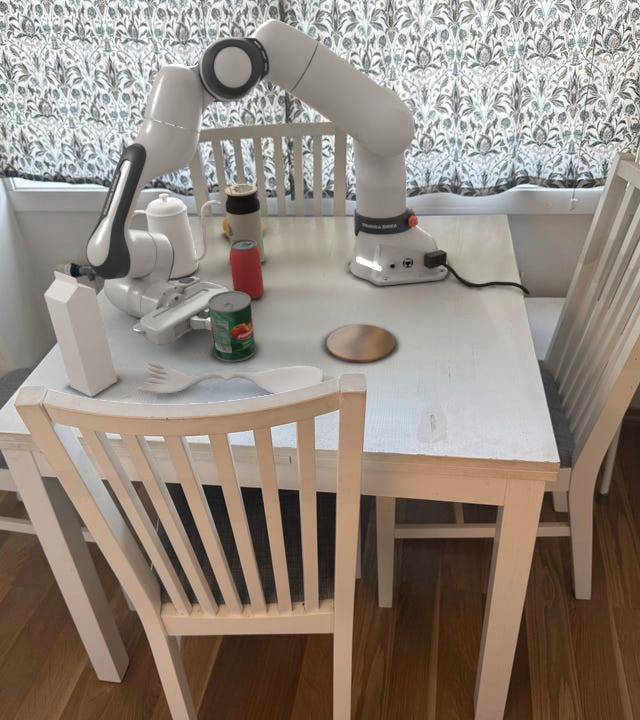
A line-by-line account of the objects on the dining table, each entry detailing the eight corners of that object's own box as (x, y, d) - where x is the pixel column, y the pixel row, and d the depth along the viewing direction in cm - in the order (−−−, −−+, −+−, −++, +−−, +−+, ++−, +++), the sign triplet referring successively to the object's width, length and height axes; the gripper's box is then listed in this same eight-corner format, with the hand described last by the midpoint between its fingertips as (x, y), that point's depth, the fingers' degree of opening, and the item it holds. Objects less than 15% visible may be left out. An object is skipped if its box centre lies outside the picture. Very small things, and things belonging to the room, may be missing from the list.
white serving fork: (152, 374, 125) (148, 359, 123) (325, 373, 122) (324, 357, 120) (138, 404, 117) (135, 387, 115) (323, 402, 115) (322, 386, 113)
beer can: (270, 293, 150) (265, 242, 144) (248, 304, 146) (242, 252, 140) (249, 285, 154) (244, 235, 147) (228, 295, 150) (221, 245, 144)
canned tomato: (217, 340, 134) (211, 290, 128) (257, 340, 133) (252, 290, 127) (211, 362, 127) (204, 311, 121) (253, 362, 127) (248, 310, 121)
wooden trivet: (393, 327, 135) (393, 324, 134) (395, 362, 124) (395, 360, 124) (328, 327, 136) (328, 324, 136) (324, 362, 125) (324, 359, 125)
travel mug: (265, 253, 169) (258, 182, 159) (264, 266, 162) (257, 193, 152) (233, 255, 169) (224, 184, 159) (231, 268, 162) (222, 195, 152)
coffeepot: (224, 279, 157) (214, 201, 147) (121, 280, 160) (104, 203, 150) (233, 260, 166) (224, 185, 156) (135, 260, 169) (120, 187, 159)
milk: (96, 372, 127) (69, 263, 115) (118, 381, 124) (91, 271, 112) (70, 387, 123) (38, 276, 111) (91, 398, 119) (61, 285, 108)
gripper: (124, 313, 128) (174, 333, 121) (199, 272, 142) (249, 288, 134) (130, 341, 132) (180, 362, 124) (203, 299, 145) (252, 316, 138)
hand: (216, 323), depth 129 cm, fingers closed, pressing on canned tomato
